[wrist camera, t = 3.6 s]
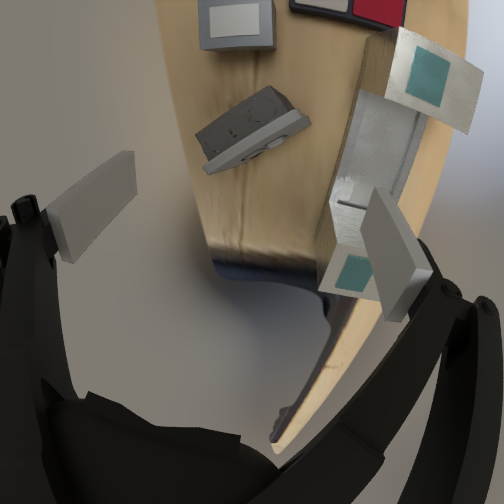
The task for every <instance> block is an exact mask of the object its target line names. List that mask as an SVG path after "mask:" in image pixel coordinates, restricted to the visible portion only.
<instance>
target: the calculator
mask: <svg viewBox="0 0 504 504" xmlns="http://www.w3.org/2000/svg"><path fill="white" fill-rule="evenodd" d="M406 5H407V0H289V8H290V10H291V11H293V12H299V13H305V14H311V15H317V16H322V17H327V18H332V19H336V20H340V21H345V22H349V23H352V24H356V25H360V26H363V27H367V28H370V29H373V30H377V31H380V32H384V31H387V30H390V29H393V28H396V27H399V26H400V27H402V28H404V21H405V13H406Z"/></svg>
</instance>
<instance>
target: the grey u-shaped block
mask: <svg viewBox="0 0 504 504" xmlns="http://www.w3.org/2000/svg"><path fill="white" fill-rule="evenodd" d="M483 74H484V72H483V71H481V70H480V69H478V68H477V67H475V66H474V65H472V64H470V63H469V62H468V61H466V60H464V59H463V58H461V57H460V56H458V55H456V54H454V53H453V52H451V51H449V50H447V49H446V48H444V47H442V46H440V45H438V44H436V43H434V42H432V41H430V40H428V39H426V38H424V37H422V36H420V35H418V34H416V33H414V32H412V31H409V30H407V29H405V28H402V27H400V26H399V27H396V28H393V29H390V30H387V31H384V32H381V33H378V34H375V35H372V36H369V37H367V41H366V46H365V50H364V55H363V60H362V65H361V69H360V74H359V78H358V82H357V87H356V91H355V95H354V99H353V103H352V107H351V111H350V115H349V119H348V123H347V127H346V131H345V135H344V138H343V142H342V146H341V149H340V153H339V157H338V160H337V164H336V167H335V171H334V174H333V178H332V181H331V184H330V188H329V191H328V194H327V198H326V201H325V204H324V207H323V211H322V214H321V217H320V220H319V223H318V226H317V230H316V233H315V236H314V239H315V252H316V267H317V284H318V291H323V292H328V293H334V294H339V295H345V296H351V297H357V298H362V299H368V300H374V301H380V298H379V294H378V290H377V286H376V283H375V279H374V275H373V272H372V268H371V264H370V261H369V258H368V254H367V251H366V248H365V244H364V241H363V238H362V235H361V232H360V227H361V224H362V221H363V219H364V216H365V213H366V210H367V207H368V204H369V201H370V198H371V195H372V192H373V189H374V186H377V187H381V188H384V189H387V190H388V191H389V193H390V195H391V196H392V198H393V199H394V201H395V203H396V204H397V203H398V201H399V198H400V196H401V194H402V191H403V188H404V186H405V183H406V181H407V178H408V175H409V173H410V170H411V167H412V165H413V162H414V159H415V156H416V153H417V150H418V147H419V144H420V141H421V138H422V135H423V132H424V129H425V126H426V122H427V119H428V116H431V117H433V118H435V119H437V120H439V121H441V122H443V123H445V124H447V125H449V126H451V127H453V128H455V129H457V130H459V131H461V132H463V133H465V134H466V135H467V134H468V131H469V128H470V125H471V122H472V119H473V115H474V112H475V108H476V104H477V100H478V96H479V92H480V88H481V84H482V79H483Z"/></svg>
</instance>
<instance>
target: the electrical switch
mask: <svg viewBox="0 0 504 504" xmlns="http://www.w3.org/2000/svg"><path fill="white" fill-rule="evenodd" d="M271 88H272V89H273V90H272V89H271ZM273 91H274V92H273ZM275 94H276V95H275ZM256 98H258V99H256ZM268 98H269V99H268ZM254 99H255V100H254ZM249 111H250V114H251V115H250V114H249ZM247 117H248V118H249V120H250V121H249V120H248V118H247ZM311 124H312V123H311V121H310V119H309V117H308V116H306V115H304V114H302V113H300V110H299V109H294V107H293V106H292V105H291V103H290V102H289V100H288V99H287V98H286V97H285V96H284V95H282V94H281V93H280V92H278V91H277V90H276V89H274V88H273V87H272V86H271V87H270V86H269V85H268V86H267V87H265V88H263V89H262V90H260V91H258V92H257V93H255V94H254V95H252V96H250V97H249V98H247V99H246V100H244V101H243V102H241V103H240V104H238V105H237V106H235V107H234V108H232V109H231V110H229V111H228V112H226V113H225V114H223V115H222V116H220V117H219V118H217V119H216V120H215V121H213V122H212V123H210V124H209V125H208V126H206V127H205V128H203V129H202V130H201V131H199V132H198V133H197V134H195V136H196V138H197V139H198V141H199V143H200V144H201V146H202V148H203V151H204V153H205V155H206V157H207V158H208V161H209V162H208V163H206V164H205V165H203V167H202V168H203V169H204V171H205V172H206V173H207V175H211V174H214V173H218V172H221V171H224V170H227V169H231V168H234V167H237V166H239V165H242V164H244V163H246V162H248V161H249V160H251V159H253V158H254V157H256V156H258V155H259V154H261V153H263V152H264V151H266V150H268V149H269V150H270V149H272V148H274V147H276V146H278V145H280V144H281V143H283V142H284V141H285V139H287V138H289V137H290V136H292V135H294V134H296V133H298V132H299V131H301V130H303V129H305V128H307V127H308V126H309V125H311ZM228 129H229V130H232V132H229V130H228ZM207 131H208V132H207Z"/></svg>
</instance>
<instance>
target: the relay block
mask: <svg viewBox="0 0 504 504" xmlns="http://www.w3.org/2000/svg"><path fill="white" fill-rule="evenodd" d="M198 12H199V37H200V50H205V51H211V52H230V51H248V50H277V45H276V8H275V4H274V1H273V0H198Z"/></svg>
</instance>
